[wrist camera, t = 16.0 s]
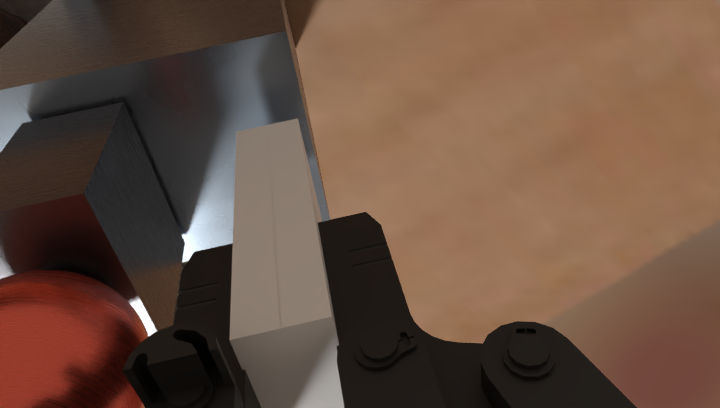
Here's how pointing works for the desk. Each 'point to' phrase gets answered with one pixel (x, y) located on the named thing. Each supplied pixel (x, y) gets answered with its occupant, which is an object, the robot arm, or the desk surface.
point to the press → (164, 88)
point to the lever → (81, 260)
